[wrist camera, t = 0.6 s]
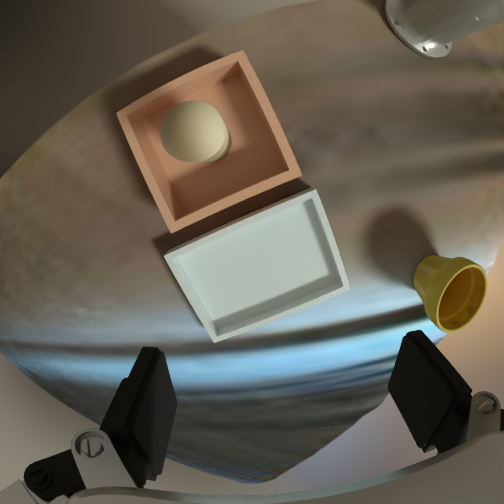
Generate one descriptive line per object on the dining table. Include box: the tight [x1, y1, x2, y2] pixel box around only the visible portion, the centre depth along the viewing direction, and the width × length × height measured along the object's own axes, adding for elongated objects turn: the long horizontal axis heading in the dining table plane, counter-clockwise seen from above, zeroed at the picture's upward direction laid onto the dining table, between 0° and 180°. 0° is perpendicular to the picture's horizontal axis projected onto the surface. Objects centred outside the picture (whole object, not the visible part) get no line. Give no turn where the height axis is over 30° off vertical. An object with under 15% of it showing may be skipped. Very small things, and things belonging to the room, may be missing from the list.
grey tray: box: [164, 187, 350, 343], centre depth 36 cm, size 20×14×2 cm
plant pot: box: [413, 255, 487, 333], centre depth 34 cm, size 10×10×10 cm
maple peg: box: [160, 100, 232, 162], centre depth 25 cm, size 5×5×12 cm
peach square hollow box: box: [116, 50, 302, 233], centre depth 29 cm, size 15×15×6 cm
